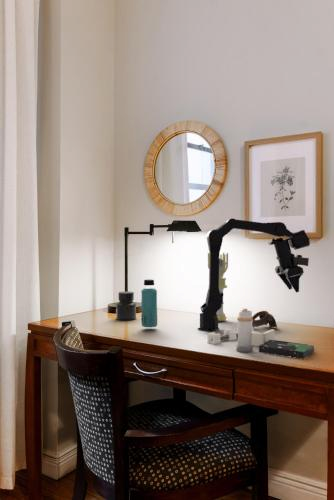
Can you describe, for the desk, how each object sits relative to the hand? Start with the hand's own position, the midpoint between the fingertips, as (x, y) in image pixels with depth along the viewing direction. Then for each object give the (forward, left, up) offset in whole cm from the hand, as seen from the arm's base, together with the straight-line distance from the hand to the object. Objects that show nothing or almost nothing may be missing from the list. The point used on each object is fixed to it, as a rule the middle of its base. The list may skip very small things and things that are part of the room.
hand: (294, 290), depth 175 cm
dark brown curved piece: (-10, -6, -16) cm, 19 cm away
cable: (-9, -30, -15) cm, 35 cm away
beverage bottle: (-46, -35, -16) cm, 60 cm away
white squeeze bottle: (-1, -42, -15) cm, 45 cm away
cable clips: (-12, -30, -15) cm, 36 cm away
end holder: (-2, -30, -15) cm, 33 cm away
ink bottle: (-69, -23, -16) cm, 75 cm away
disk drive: (+11, -36, -16) cm, 41 cm away
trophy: (-33, -3, -16) cm, 37 cm away
